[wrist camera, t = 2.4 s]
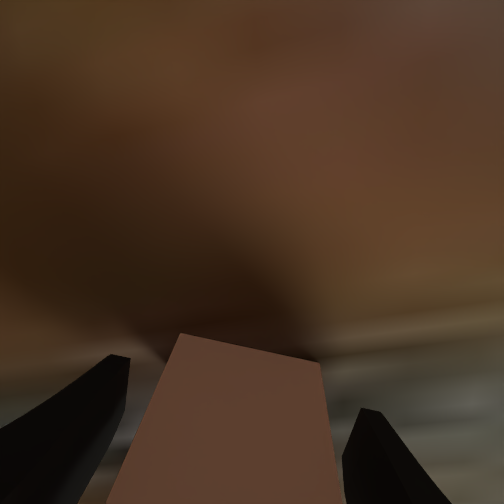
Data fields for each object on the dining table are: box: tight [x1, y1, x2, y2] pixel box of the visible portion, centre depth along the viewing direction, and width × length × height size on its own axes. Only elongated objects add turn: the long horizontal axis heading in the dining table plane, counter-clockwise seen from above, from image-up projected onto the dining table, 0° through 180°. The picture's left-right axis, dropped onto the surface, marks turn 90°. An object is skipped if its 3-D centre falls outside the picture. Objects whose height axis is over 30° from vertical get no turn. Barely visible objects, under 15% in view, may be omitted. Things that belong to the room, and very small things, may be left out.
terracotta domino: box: [105, 333, 342, 504], centre depth 10 cm, size 2×5×8 cm, turn 78°
